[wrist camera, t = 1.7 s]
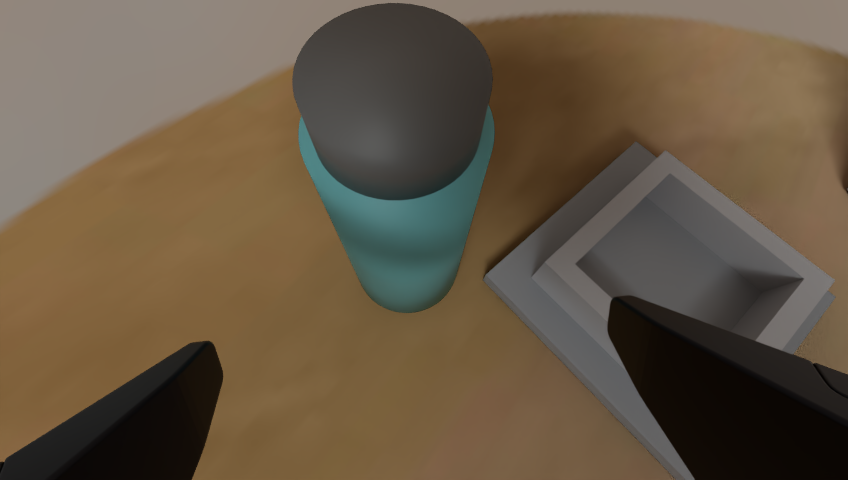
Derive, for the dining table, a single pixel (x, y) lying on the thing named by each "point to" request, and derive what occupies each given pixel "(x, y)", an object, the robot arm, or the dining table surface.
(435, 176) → the teal flask
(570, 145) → the dining table surface
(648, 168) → the tray
